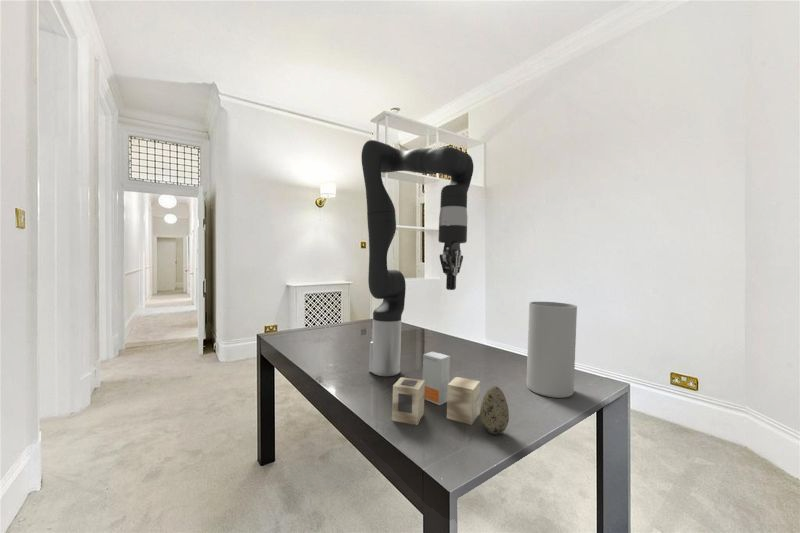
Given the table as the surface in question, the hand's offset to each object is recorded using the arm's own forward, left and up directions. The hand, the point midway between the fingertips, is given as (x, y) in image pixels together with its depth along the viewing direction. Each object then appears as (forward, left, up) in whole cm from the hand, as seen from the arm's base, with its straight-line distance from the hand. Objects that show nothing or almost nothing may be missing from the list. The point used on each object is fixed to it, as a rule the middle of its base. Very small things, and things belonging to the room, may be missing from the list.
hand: (450, 289), depth 89 cm
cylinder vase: (+24, +20, -29) cm, 43 cm away
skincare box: (-2, -4, -29) cm, 30 cm away
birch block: (+7, -9, -29) cm, 31 cm away
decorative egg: (+15, -13, -29) cm, 35 cm away
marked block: (-4, -16, -29) cm, 33 cm away
